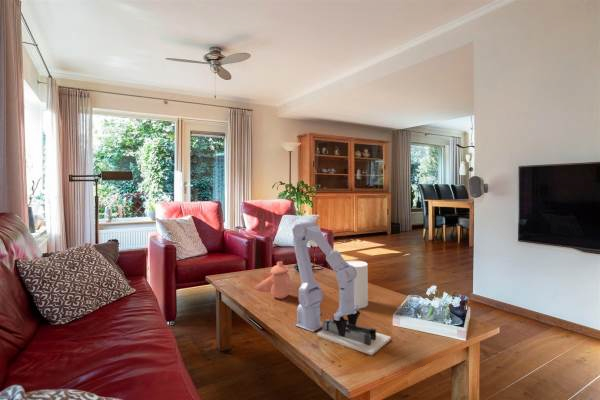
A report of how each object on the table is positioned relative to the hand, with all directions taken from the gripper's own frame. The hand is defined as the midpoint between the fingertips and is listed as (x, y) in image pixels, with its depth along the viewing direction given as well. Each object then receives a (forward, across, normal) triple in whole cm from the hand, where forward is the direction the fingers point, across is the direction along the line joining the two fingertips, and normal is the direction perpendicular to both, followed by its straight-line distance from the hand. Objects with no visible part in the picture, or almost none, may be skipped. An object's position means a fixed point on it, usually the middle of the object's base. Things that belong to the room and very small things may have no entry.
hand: (347, 332), depth 128 cm
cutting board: (+2, +2, -2) cm, 3 cm away
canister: (+2, +34, +18) cm, 38 cm away
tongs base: (+1, 0, 0) cm, 1 cm away
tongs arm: (+1, +2, -1) cm, 3 cm away
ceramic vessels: (+2, +25, +64) cm, 69 cm away
